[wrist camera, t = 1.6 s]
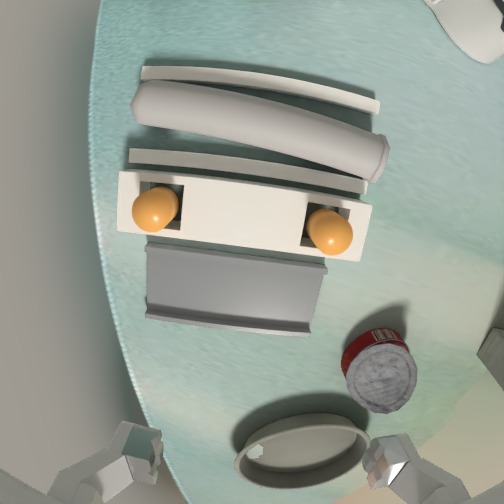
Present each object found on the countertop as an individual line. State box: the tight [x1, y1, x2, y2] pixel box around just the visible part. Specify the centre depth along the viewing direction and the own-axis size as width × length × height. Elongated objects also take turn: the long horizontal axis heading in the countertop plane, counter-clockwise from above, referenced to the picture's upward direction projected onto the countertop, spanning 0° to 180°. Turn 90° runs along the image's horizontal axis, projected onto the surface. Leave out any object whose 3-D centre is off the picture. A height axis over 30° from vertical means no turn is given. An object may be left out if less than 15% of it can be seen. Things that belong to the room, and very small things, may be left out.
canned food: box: [341, 328, 417, 414], centre depth 36 cm, size 11×10×10 cm
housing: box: [117, 66, 380, 262], centre depth 28 cm, size 17×25×4 cm
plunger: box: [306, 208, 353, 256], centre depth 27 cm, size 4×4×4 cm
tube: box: [130, 80, 390, 183], centre depth 26 cm, size 5×5×25 cm
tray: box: [145, 242, 328, 337], centre depth 33 cm, size 9×20×2 cm, turn 82°
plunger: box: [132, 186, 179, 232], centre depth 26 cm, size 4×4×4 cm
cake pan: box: [234, 413, 371, 490], centre depth 43 cm, size 25×25×4 cm
